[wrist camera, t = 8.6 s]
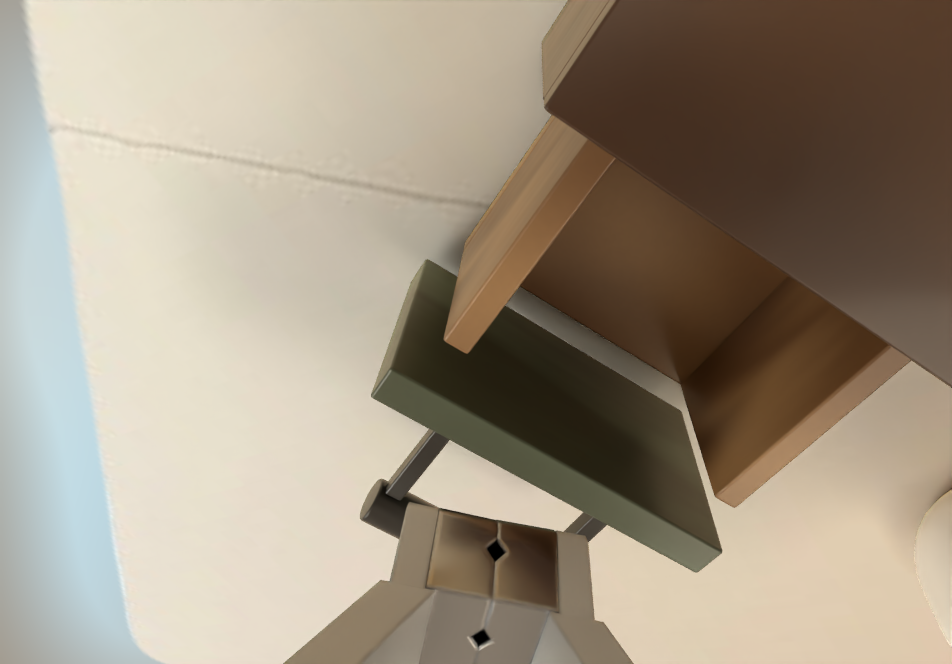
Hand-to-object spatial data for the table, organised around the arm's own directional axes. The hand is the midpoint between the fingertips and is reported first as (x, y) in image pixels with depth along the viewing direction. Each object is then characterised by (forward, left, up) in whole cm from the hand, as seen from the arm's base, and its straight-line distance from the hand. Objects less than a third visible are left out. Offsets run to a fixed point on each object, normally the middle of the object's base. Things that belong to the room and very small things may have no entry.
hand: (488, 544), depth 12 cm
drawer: (-4, 0, -14) cm, 14 cm away
